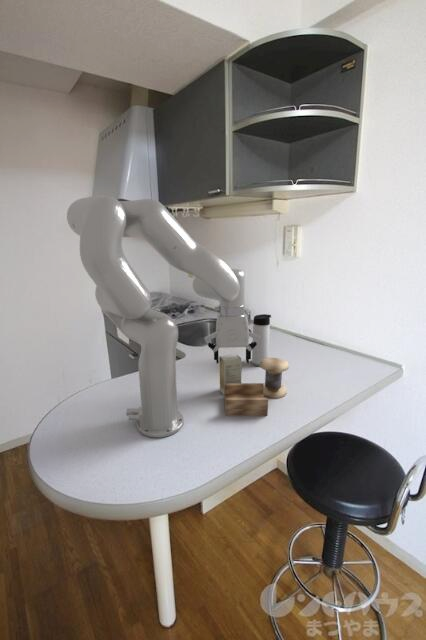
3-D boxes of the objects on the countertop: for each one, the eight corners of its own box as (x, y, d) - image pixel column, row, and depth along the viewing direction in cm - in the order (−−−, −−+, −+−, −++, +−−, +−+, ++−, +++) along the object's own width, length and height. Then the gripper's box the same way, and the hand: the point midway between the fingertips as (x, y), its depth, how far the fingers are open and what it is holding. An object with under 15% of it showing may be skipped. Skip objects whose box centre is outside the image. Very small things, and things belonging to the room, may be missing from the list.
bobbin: (260, 398, 100) (262, 369, 97) (257, 384, 108) (258, 357, 105) (289, 398, 100) (291, 369, 97) (283, 384, 108) (285, 357, 105)
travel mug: (268, 367, 122) (270, 317, 116) (251, 366, 123) (252, 316, 117) (268, 361, 127) (271, 313, 122) (252, 359, 129) (254, 312, 123)
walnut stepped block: (225, 415, 91) (225, 400, 89) (224, 397, 100) (224, 383, 99) (267, 415, 91) (268, 400, 89) (262, 397, 100) (262, 383, 99)
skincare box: (236, 386, 107) (237, 353, 104) (241, 392, 103) (242, 358, 100) (218, 389, 105) (218, 355, 102) (223, 396, 101) (223, 360, 98)
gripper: (203, 314, 93) (205, 367, 98) (262, 313, 93) (260, 366, 98) (203, 307, 100) (205, 357, 105) (258, 306, 100) (257, 356, 105)
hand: (232, 361), depth 102 cm, fingers open, 9 cm apart
